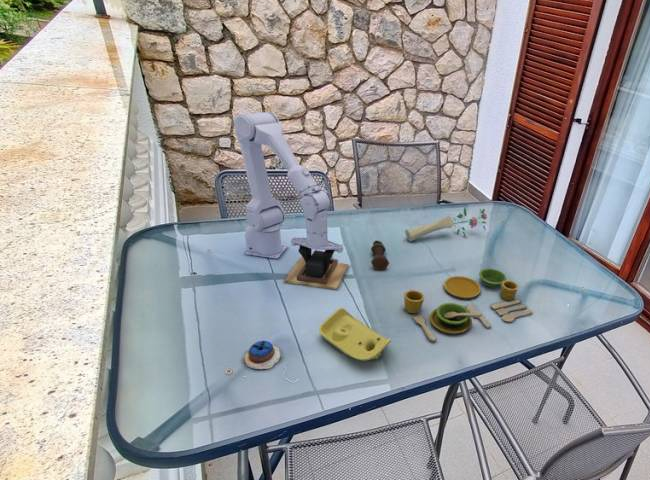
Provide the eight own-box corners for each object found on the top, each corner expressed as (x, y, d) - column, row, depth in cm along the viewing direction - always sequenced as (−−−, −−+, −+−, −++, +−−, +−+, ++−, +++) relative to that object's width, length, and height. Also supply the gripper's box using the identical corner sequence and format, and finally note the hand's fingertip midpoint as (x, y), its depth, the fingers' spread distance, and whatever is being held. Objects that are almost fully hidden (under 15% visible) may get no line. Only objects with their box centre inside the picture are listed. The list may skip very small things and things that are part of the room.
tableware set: (427, 345, 118) (430, 328, 114) (388, 291, 134) (389, 274, 131) (537, 315, 142) (542, 300, 139) (492, 272, 159) (496, 258, 156)
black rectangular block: (305, 278, 129) (305, 264, 126) (315, 263, 137) (314, 250, 134) (321, 280, 130) (320, 266, 127) (329, 265, 137) (329, 252, 135)
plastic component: (315, 329, 109) (343, 303, 114) (327, 344, 115) (354, 318, 120) (365, 366, 101) (394, 335, 106) (376, 379, 107) (403, 350, 111)
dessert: (248, 343, 103) (262, 330, 101) (274, 355, 106) (287, 342, 105) (236, 368, 97) (250, 355, 95) (264, 380, 100) (278, 367, 98)
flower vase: (407, 252, 171) (477, 226, 189) (420, 259, 162) (493, 231, 179) (399, 225, 166) (473, 201, 183) (412, 230, 157) (488, 205, 174)
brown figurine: (379, 252, 156) (382, 273, 144) (367, 246, 153) (368, 266, 141) (388, 240, 154) (391, 260, 143) (376, 234, 151) (378, 254, 140)
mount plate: (284, 282, 127) (284, 275, 125) (301, 259, 138) (300, 253, 137) (336, 289, 129) (336, 283, 128) (348, 266, 141) (348, 260, 140)
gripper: (345, 228, 130) (345, 265, 137) (296, 219, 127) (298, 258, 134) (339, 238, 124) (339, 276, 131) (287, 230, 121) (290, 269, 129)
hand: (318, 268), depth 132 cm, fingers closed on black rectangular block, 4 cm apart
